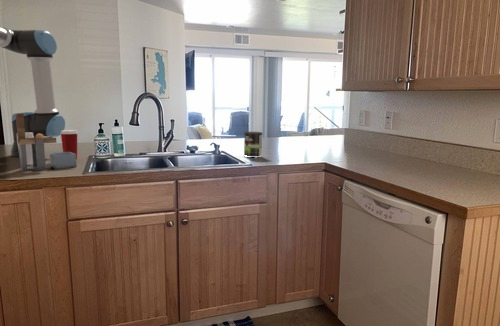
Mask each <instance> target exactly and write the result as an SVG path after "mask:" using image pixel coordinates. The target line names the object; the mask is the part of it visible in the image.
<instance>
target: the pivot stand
mask: <svg viewBox="0 0 500 326" xmlns="http://www.w3.org/2000/svg"><path fill="white" fill-rule="evenodd" d="M35 142H36V144H31V146H32V159H33V165H28V168H29V169H30V170H31V171H34V172H37V171H38V172H39V171H49V169H50V167H51V166H47V164H46V155H45V153H46V152H45V143H44V139H35Z"/></svg>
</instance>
